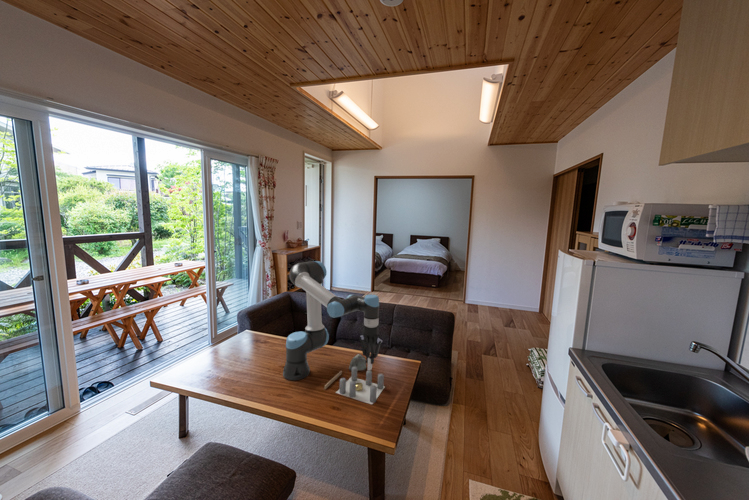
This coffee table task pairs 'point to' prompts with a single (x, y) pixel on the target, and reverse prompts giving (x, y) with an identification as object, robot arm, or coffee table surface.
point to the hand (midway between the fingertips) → (369, 368)
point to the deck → (369, 388)
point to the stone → (358, 362)
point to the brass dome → (359, 386)
